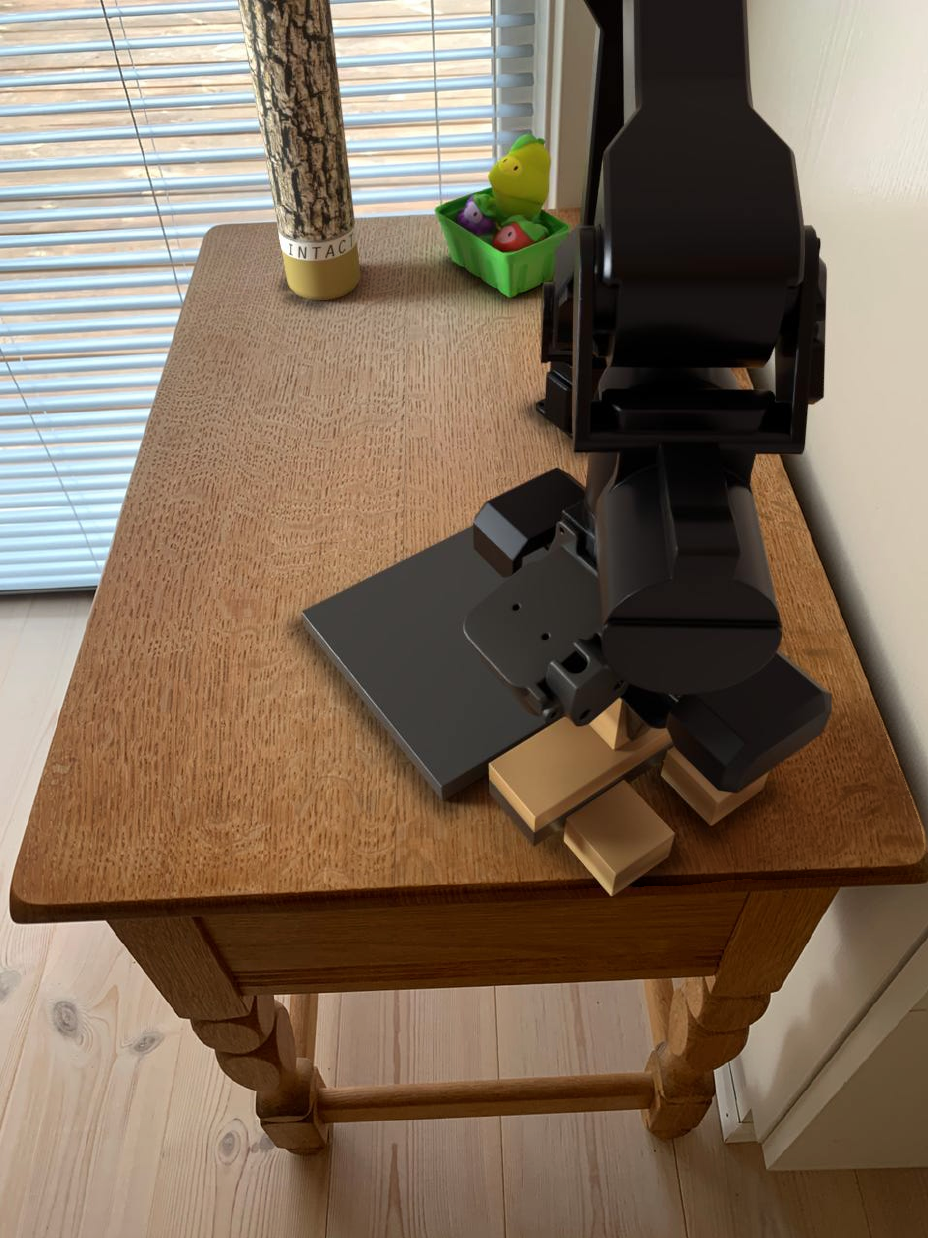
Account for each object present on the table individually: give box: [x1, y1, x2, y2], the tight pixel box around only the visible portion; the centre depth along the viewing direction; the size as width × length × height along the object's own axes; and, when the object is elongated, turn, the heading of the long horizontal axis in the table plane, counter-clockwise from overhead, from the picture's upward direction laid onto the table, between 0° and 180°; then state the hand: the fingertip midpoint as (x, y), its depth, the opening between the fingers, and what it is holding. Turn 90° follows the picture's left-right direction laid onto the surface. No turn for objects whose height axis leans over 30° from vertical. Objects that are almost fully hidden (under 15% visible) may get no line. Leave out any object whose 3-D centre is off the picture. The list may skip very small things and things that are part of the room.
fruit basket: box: [434, 133, 571, 299], centre depth 88 cm, size 11×9×11 cm
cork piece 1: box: [563, 780, 676, 897], centre depth 52 cm, size 4×4×2 cm
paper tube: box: [237, 0, 361, 301], centre depth 82 cm, size 7×7×25 cm
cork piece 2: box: [660, 746, 770, 827], centre depth 54 cm, size 4×4×2 cm
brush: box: [488, 698, 674, 847], centre depth 52 cm, size 14×4×8 cm, turn 125°
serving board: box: [300, 524, 563, 802], centre depth 62 cm, size 18×16×2 cm
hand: (618, 717), depth 52 cm, fingers closed on brush, 2 cm apart
